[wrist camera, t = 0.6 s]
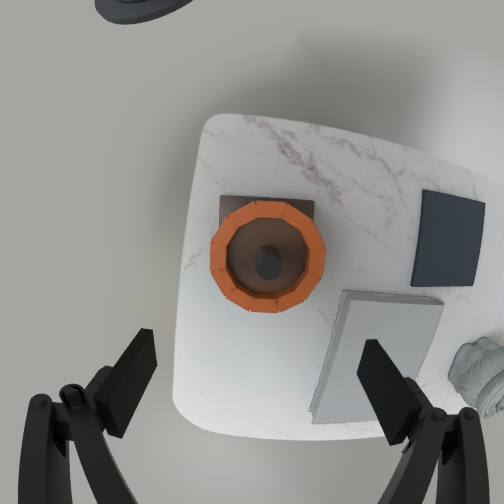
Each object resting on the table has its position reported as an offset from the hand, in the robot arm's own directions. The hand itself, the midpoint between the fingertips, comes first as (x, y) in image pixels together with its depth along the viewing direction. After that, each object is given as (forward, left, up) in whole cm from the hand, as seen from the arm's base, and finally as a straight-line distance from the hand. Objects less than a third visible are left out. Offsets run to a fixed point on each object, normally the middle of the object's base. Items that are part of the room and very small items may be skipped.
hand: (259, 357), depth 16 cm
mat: (-5, +32, -23) cm, 39 cm away
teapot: (+19, +49, -23) cm, 57 cm away
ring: (-3, +1, -15) cm, 15 cm away
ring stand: (-3, +1, -23) cm, 23 cm away
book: (+16, +21, -23) cm, 35 cm away
